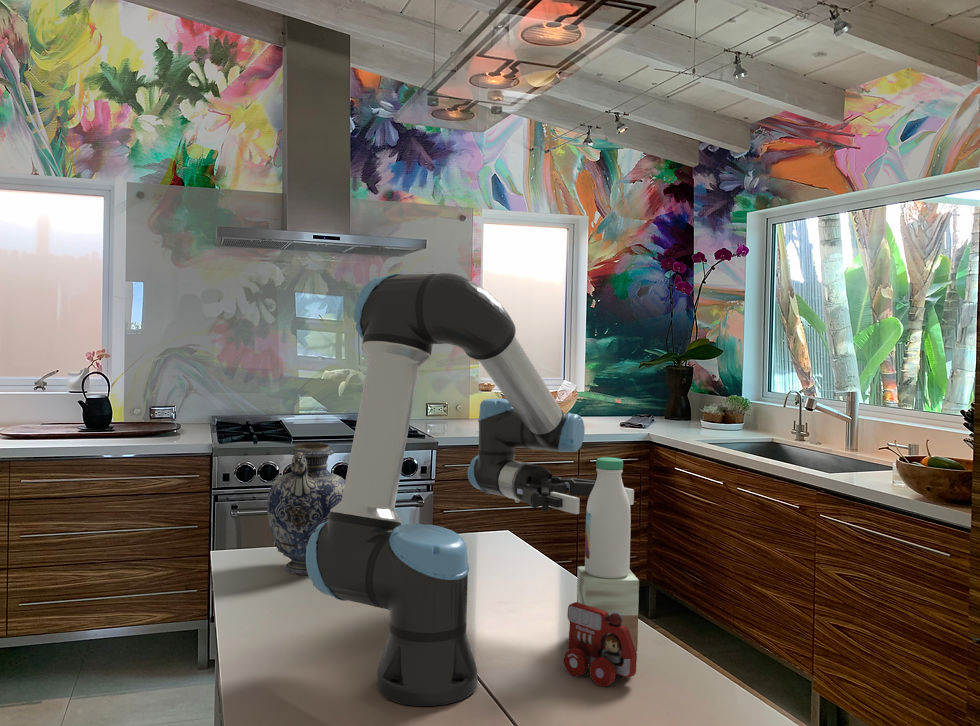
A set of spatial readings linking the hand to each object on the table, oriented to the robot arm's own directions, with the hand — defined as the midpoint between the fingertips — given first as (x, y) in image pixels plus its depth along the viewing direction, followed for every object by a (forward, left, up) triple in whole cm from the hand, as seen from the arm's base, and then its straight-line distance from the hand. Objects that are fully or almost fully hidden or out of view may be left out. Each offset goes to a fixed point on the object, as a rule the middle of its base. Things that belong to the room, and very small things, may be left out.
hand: (606, 501), depth 143 cm
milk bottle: (-1, 0, -13) cm, 13 cm away
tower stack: (-1, 0, -24) cm, 24 cm away
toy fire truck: (-15, +4, -25) cm, 29 cm away
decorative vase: (+44, +58, -25) cm, 77 cm away
